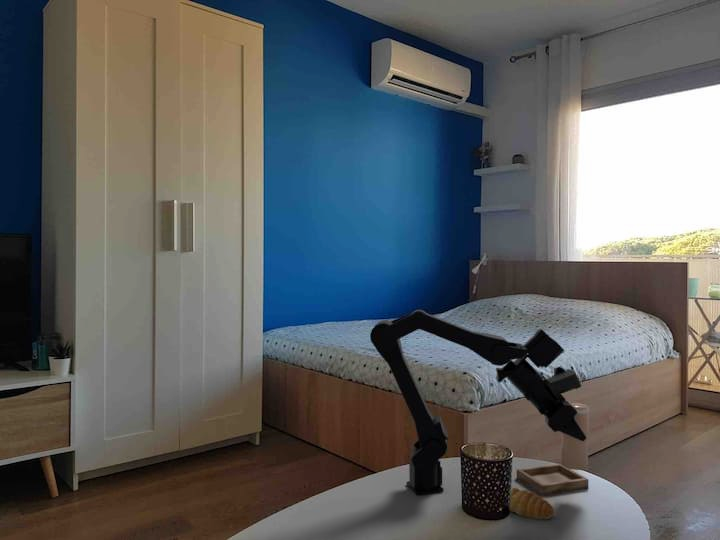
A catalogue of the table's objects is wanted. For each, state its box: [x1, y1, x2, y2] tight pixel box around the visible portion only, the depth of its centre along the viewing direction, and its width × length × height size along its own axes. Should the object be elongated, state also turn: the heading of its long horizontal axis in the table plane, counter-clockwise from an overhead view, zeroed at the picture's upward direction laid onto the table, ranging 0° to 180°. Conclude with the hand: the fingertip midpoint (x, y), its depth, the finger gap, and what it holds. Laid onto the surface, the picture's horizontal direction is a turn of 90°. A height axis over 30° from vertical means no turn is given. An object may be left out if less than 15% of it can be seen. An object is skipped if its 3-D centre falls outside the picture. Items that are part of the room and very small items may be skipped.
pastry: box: [509, 487, 555, 520], centre depth 115 cm, size 9×7×4 cm
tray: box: [516, 463, 589, 496], centre depth 129 cm, size 12×10×2 cm
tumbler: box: [560, 401, 590, 471], centre depth 122 cm, size 6×6×13 cm
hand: (581, 435), depth 122 cm, fingers closed on tumbler, 5 cm apart
